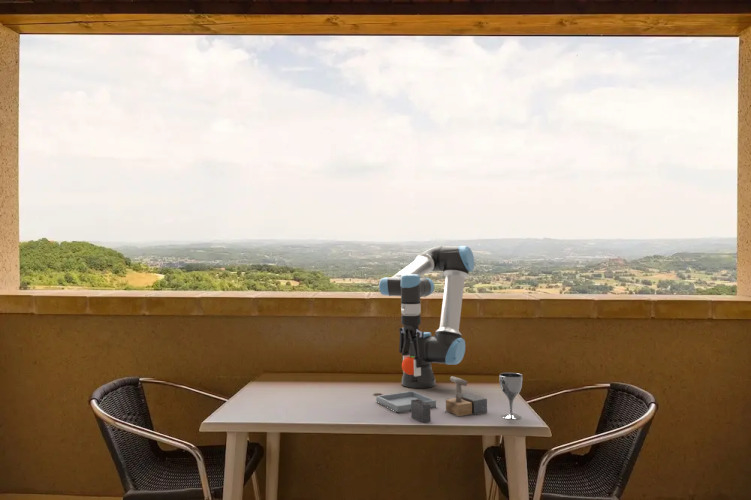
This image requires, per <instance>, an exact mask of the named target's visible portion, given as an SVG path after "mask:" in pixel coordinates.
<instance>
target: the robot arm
mask: <svg viewBox="0 0 751 500" xmlns="http://www.w3.org/2000/svg"><path fill="white" fill-rule="evenodd" d="M474 268H475V258H474V254H473V251H472V249H471V248H470V246H468V245H467V246H466V245H444V246H443V245H439V246H438V245H437V246H434V247H431V248H429V249H426V250H425V251H422V252H421V253H420V254H418V255H417V256H416V257H415V259H414V260H413V261H412V262H411V263H410V264H409V263H408V265H406V266H405V267H404V268H402V269H401V270H400V271H398V272H397V273H396V274H394V275H393V276H391V277H389V276H388V277H382V278H381V279H380V280H379V284H378V289H379V292H380V294H381V295H382V296H388V297H400V306H401V307H400V309H401V310H400V311H401V312H400V313H401V315H400V323H401V325H402V326H403V327H399V328H398V329H399V345H398V346H399V349H398V350H399V351H398V352H399V353H400V354H401V355H402V361H403V360H404V359H405V358H407V357H410V356H413V357H415V358H413V359H414V374H413V375H408V374H406V373H405V372H404V371H403V370H402V373H403V375H402V377H401V385H402V386H404V387H406V388H412V389H426V388H427V389H428V388H431V387H434V386H436V378H435V375H434V374H435V373H434V371H433V369H432V363H433V364H442V365H458V364H460V363H461V361H463V359H464V357H465V353H466V341H465V339H464V338H463V337H462V335H463V334H462V333H461V332H460V331H459V330H460V323H461V314H462V313H461V312H462V304H463V296H464V289H465V287H464V286H465V279H466V278H468V277H469V273H470V272H472V271H474ZM432 272H442V274H443V276H444V277H445V280H444V288H443V296H442V302H441V304H442V305H441V312H440V321H439V327H438V329H436V330H435V334H434V335H432V332H430V331H420V329H419V326H420V325H421V324H422V323H421V322H422V317H421V316H422V315H421V313H422V312H421V310H422V309H421V306H422V305H421V298H423V297H424V298H426V297H428V296H430V295H432V294H433V293H434V291H435V284H434V281H433V280H432V279H431V278H430V277H424V275H425V274H430V273H432Z"/></svg>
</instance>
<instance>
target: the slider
mask: <svg viewBox="0 0 751 500" xmlns="http://www.w3.org/2000/svg"><path fill="white" fill-rule="evenodd" d="M449 380H450V382H452V383H455V398H449V399H445V411H446V412H448V413H450V414H452V415H455V416H457V417H463V416H468V415H473V414H472V403H471V402H468V401H466V400H463V399H461V395H462V386H464V387H466V386H468V381H467V380H465V379H463V378H460V377H456V376H453V375H452V376H450V378H449Z"/></svg>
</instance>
